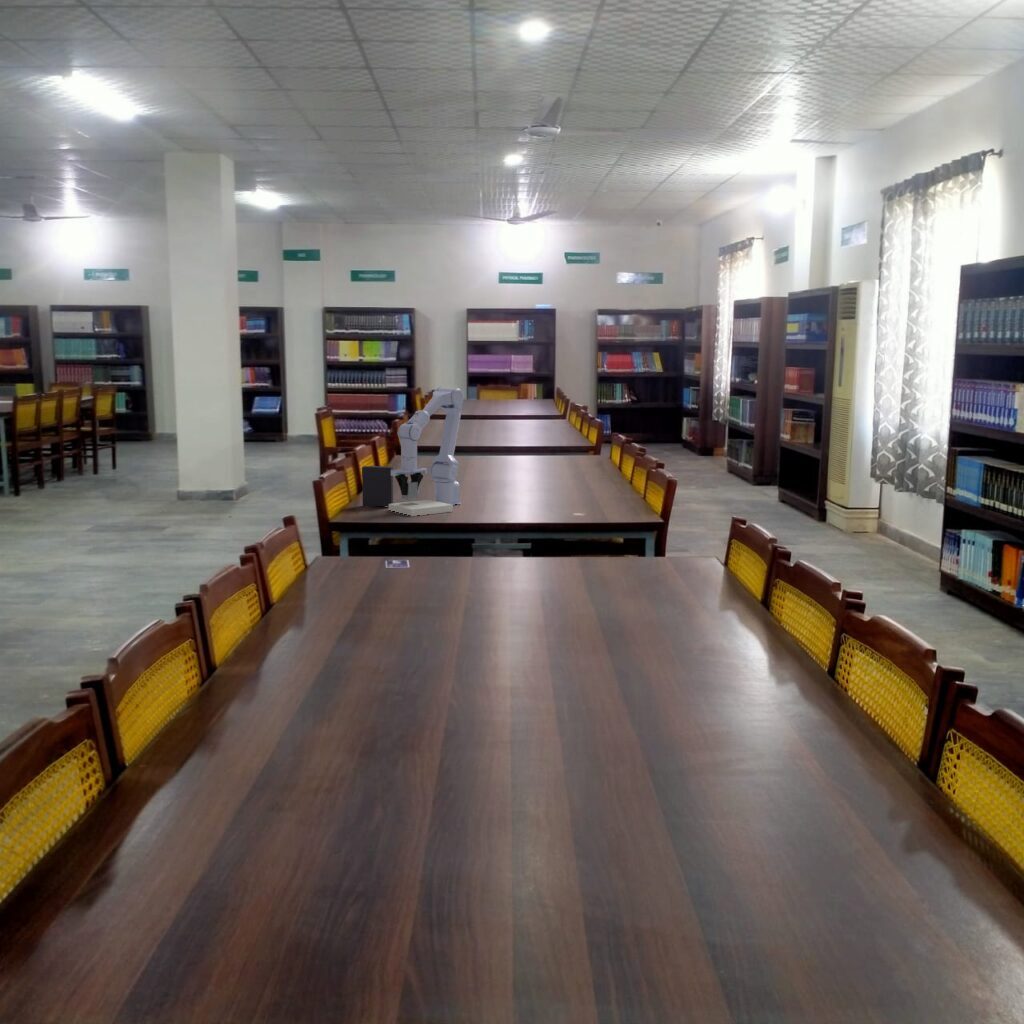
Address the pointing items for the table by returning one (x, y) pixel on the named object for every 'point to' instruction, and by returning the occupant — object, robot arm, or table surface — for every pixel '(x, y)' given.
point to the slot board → (421, 507)
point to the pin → (411, 490)
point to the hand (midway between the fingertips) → (409, 494)
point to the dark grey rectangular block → (377, 485)
